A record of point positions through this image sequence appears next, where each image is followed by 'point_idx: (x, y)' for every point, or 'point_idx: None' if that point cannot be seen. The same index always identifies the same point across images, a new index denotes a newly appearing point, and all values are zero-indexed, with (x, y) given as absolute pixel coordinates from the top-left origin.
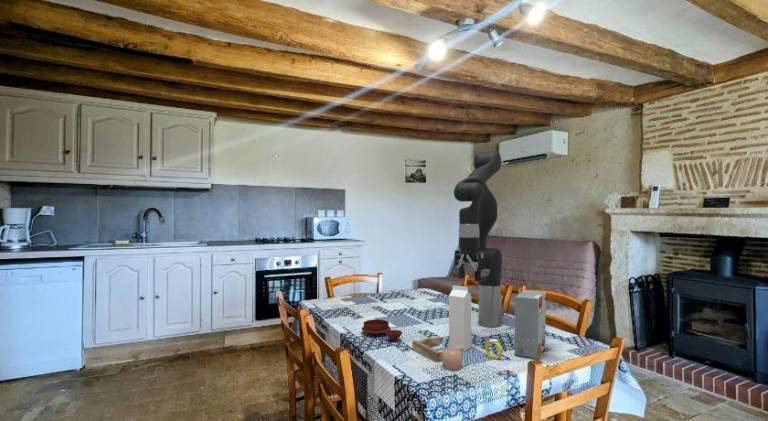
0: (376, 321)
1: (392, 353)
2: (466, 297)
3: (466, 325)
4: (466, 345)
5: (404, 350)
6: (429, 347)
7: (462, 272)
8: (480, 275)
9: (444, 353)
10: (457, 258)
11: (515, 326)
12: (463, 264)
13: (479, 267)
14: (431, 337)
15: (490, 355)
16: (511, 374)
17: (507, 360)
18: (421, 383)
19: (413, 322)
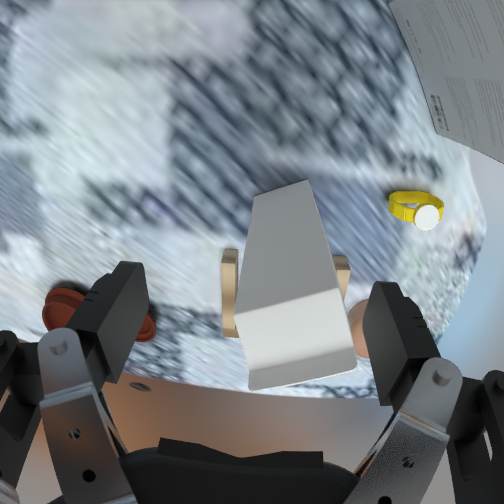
0: (46, 309)
1: (224, 359)
2: (351, 336)
3: (331, 255)
4: (321, 220)
5: (221, 335)
6: None
7: (126, 320)
8: (426, 331)
9: (368, 356)
10: (15, 455)
11: (489, 156)
12: (75, 379)
13: (465, 440)
14: (223, 283)
15: (398, 196)
16: (477, 248)
17: (441, 183)
18: (371, 384)
19: (18, 175)
